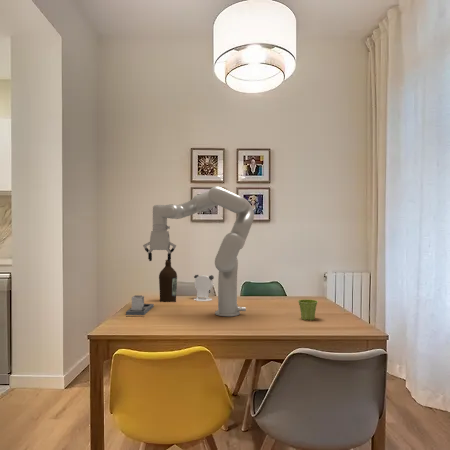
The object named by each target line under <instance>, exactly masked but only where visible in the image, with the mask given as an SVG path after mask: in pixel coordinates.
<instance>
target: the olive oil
mask: <svg viewBox="0 0 450 450" xmlns="http://www.w3.org/2000/svg"><path fill="white" fill-rule="evenodd" d="M164 265H165V266H164V267H163V268H162V269H161V271H160V272H159V274H158V280H159V281H158V282H159V283H158V284H159V302H160V303H176V302H177V287H178V286H177V285H178V274H177V271H176V270H175V269H174V268H173V267H172V259H171V260H170V261H168V259H165V263H164Z"/></svg>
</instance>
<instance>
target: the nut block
mask: <svg viewBox="0 0 450 450" xmlns="http://www.w3.org/2000/svg"><path fill="white" fill-rule="evenodd" d="M144 304H145V296H144V295H139V294H138V295H133V296H132V297H131V308H132V311H143V310H144Z"/></svg>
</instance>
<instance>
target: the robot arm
mask: <svg viewBox="0 0 450 450" xmlns="http://www.w3.org/2000/svg"><path fill="white" fill-rule="evenodd" d="M217 206H220V207H221V208H223V209H226V210H228V211H230V212H231V213H234V214H237V216H236V219H235V221H234V223H233V226H232V229H231V231H230V232H229V233H227V234H226V235H225V236H224V237H223V239H222V241H221V244H220V246H219V249H218V251H217V253H216V256H215V258H214V266H215V268H216V269H217V271H218V275H217V277H218V281H217V283H218V284H217V285H218V287H217V289H218V290H217V292H218V294H217V310H215V312H214V315H216V316H219V317H237V316H240V315H241V312H246V311H247V308H246V306H239V305H238V271H239V270H238V269H239V267H238V266H239V260H238V256H239V252H240V251H241V250H242V249H243V248H244V247H245V246H244V245H245V244H246V242H247V241H246V240H247V238H248V236H249V233H250V230H251V227H252V225H253V223H254V218H255V213H254V207H253V206H252V205H251V203H250V201H248V200H247V199H246V198H245V197H242V196H241V195H238V194H236V193H234V192H232V191H229V190H227V189H225V188H223V187H221V186H218V185H215V186H213V187H211V188H210V189H209V190H208V191H205V192H201V193H198V194H197V195H194V196H193V197H192V199H191V200H188V201H186V202H183V203H181V204H175V203H174V204H155V205H153V206H152V231H151V232H150V237H149V241H148V242H147V243H144V244H143V245H142V246H143V248H144V250H145V252H146V253H147V255H148V257H147V259H148V261H149V262H152V260H153V254H152V252H153V251H167V260H168V261H170V260H171V261H172V253H173V252H174V251H175V249H176V247H177V244H175V243H172V242H171V240H170V232H169V230H170V227H171V226H170V225H168V219H171V220H173V219H175V220H181V219H183V218H186V217H189V216H192V215H195V214H198V213H200V212H202V211H205V210H208V209H212V208H214V207H217ZM148 246H149V248H148ZM171 246H172V248H171V249H170V247H171Z"/></svg>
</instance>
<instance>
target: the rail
mask: <svg viewBox="0 0 450 450" xmlns="http://www.w3.org/2000/svg"><path fill="white" fill-rule="evenodd" d="M153 308H154V303H144V310H143V311H132V307H131V308H129V309H128V310H126V311H125V315H126V316H125V318H144V317H145V315H146V314H147V313H148V312H149V311H151V310H152V309H153Z"/></svg>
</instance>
